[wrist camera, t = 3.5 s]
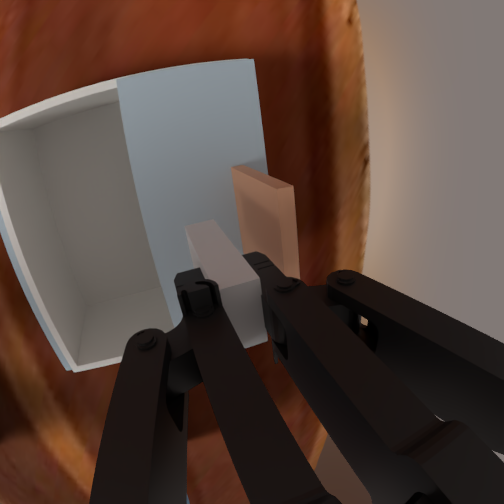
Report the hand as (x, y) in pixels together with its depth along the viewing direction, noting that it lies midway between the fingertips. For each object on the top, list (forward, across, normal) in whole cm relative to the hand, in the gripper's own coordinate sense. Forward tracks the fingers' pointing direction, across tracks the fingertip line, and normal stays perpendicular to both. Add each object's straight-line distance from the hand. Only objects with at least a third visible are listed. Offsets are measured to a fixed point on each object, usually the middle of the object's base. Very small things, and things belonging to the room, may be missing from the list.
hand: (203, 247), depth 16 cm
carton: (+15, -4, 0) cm, 16 cm away
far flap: (+5, +1, 0) cm, 5 cm away
